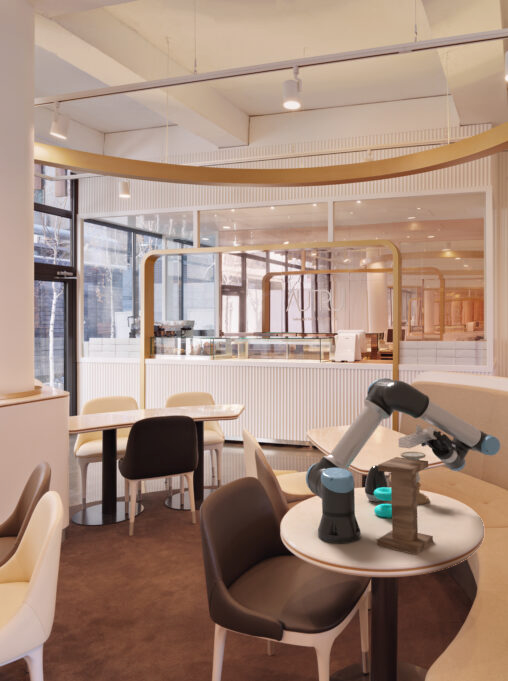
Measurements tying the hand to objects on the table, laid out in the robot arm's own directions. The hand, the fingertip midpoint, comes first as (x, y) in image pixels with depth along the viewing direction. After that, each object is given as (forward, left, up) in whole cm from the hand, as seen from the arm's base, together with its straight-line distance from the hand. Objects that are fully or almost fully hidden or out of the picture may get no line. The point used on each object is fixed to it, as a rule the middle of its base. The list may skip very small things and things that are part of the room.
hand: (423, 428), depth 211 cm
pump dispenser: (+4, +38, -37) cm, 54 cm away
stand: (-15, -9, -37) cm, 41 cm away
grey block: (-4, -2, -4) cm, 6 cm away
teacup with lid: (+12, +47, -37) cm, 61 cm away
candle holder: (+18, +31, -37) cm, 52 cm away
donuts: (-3, +20, -37) cm, 43 cm away
